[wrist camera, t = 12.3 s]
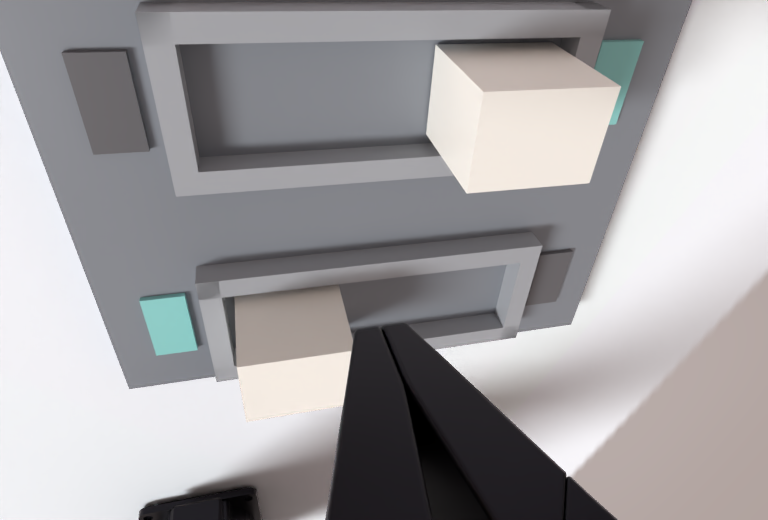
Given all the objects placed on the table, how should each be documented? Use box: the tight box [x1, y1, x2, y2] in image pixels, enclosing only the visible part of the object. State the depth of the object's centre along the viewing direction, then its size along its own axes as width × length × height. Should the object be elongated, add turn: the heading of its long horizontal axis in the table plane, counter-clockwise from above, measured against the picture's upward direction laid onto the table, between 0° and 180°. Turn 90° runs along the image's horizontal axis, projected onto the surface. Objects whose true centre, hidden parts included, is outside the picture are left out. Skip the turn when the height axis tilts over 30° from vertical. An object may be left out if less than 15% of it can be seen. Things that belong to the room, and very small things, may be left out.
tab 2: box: [426, 42, 621, 194], centre depth 16 cm, size 3×4×4 cm
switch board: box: [0, 0, 692, 389], centre depth 20 cm, size 16×21×2 cm
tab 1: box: [234, 284, 353, 422], centre depth 20 cm, size 3×4×4 cm
